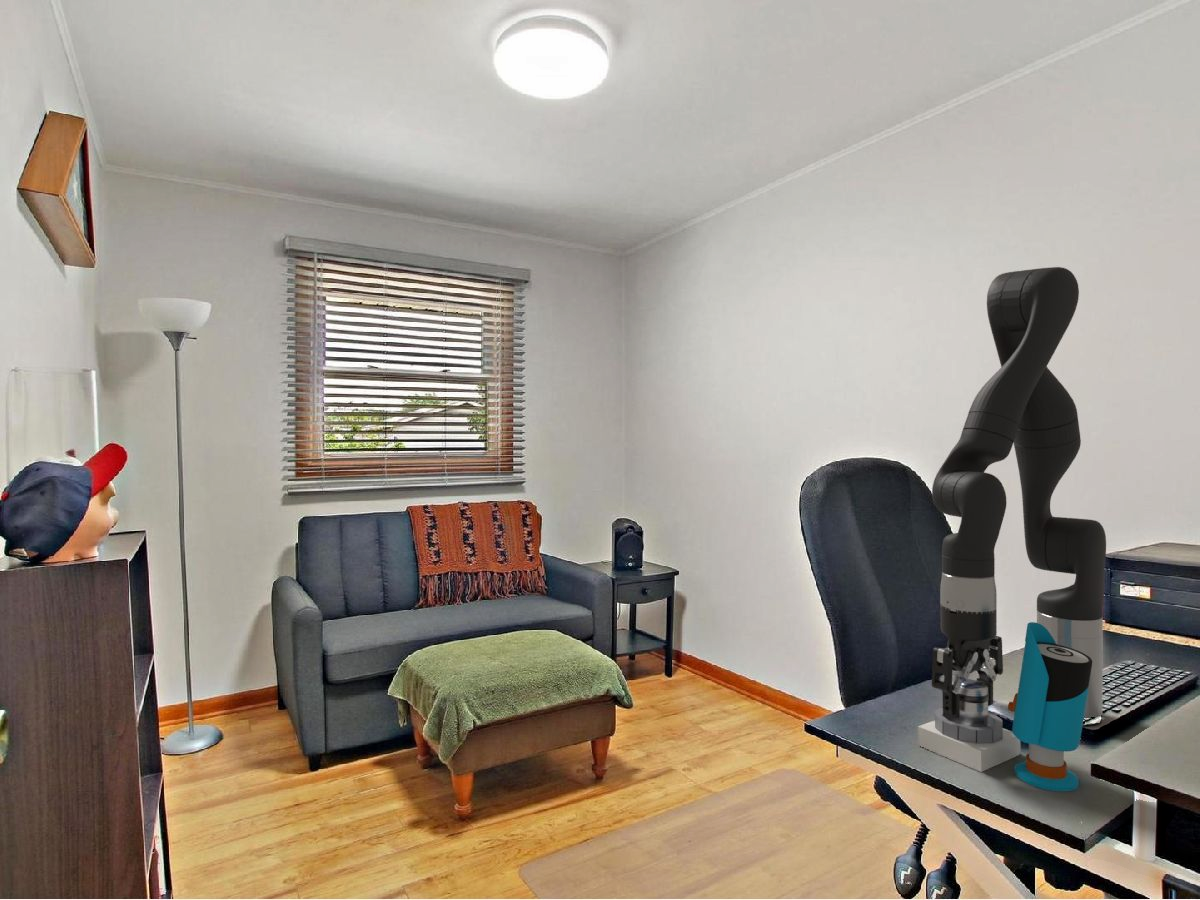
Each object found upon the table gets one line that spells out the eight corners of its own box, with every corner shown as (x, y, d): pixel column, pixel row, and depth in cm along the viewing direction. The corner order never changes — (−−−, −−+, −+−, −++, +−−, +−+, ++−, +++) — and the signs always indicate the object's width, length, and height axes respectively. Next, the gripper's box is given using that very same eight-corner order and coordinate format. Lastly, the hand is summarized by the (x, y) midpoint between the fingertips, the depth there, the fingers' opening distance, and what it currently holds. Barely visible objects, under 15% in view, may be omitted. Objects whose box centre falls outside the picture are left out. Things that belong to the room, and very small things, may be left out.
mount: (957, 730, 115) (957, 699, 115) (1020, 754, 106) (1020, 721, 106) (918, 745, 110) (917, 713, 110) (981, 771, 101) (981, 737, 101)
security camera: (1089, 640, 92) (1001, 627, 98) (1088, 802, 93) (1001, 779, 99) (1095, 625, 98) (1012, 614, 105) (1095, 777, 99) (1013, 757, 105)
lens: (963, 720, 111) (963, 675, 111) (995, 732, 107) (995, 684, 107) (943, 728, 109) (943, 681, 109) (975, 740, 104) (975, 691, 104)
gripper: (972, 592, 114) (972, 692, 115) (915, 605, 107) (916, 712, 107) (1019, 601, 108) (1019, 708, 108) (963, 616, 100) (963, 729, 101)
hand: (968, 710), depth 108 cm, fingers open, 8 cm apart
